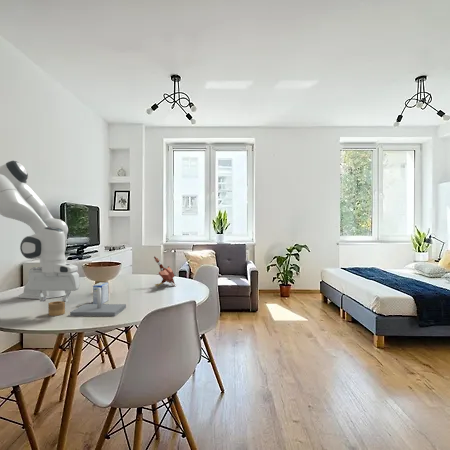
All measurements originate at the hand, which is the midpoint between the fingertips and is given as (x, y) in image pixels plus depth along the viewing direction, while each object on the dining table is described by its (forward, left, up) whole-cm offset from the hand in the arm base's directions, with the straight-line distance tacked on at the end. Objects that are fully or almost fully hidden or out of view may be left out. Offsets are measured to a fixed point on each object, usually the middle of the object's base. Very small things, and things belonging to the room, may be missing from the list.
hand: (53, 301), depth 146 cm
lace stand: (+17, +5, -5) cm, 18 cm away
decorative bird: (+32, +64, -5) cm, 71 cm away
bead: (+1, +1, -5) cm, 5 cm away
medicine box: (+11, +22, -5) cm, 25 cm away
